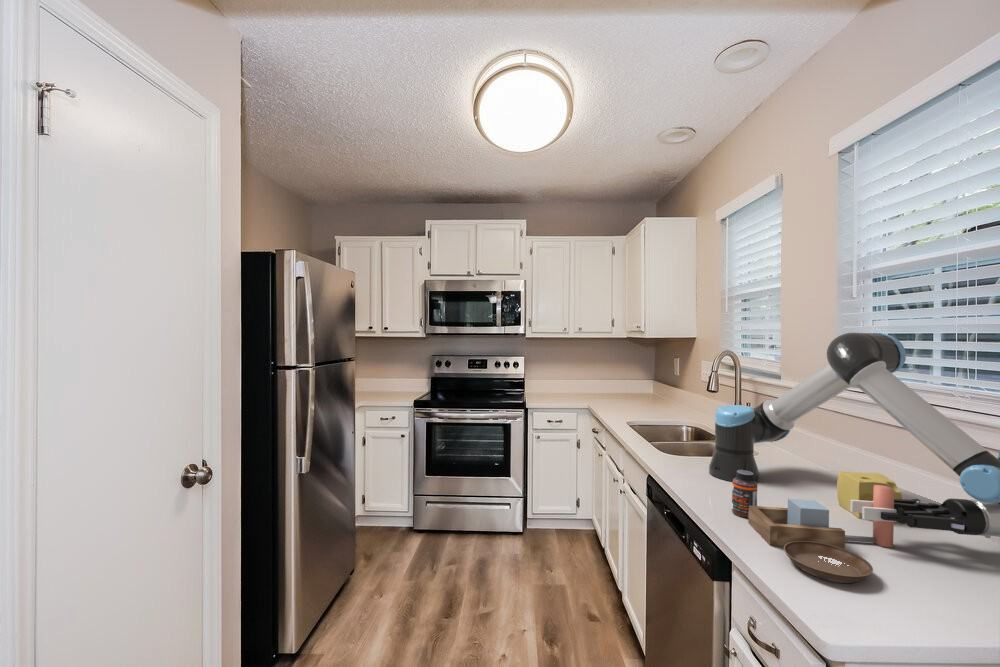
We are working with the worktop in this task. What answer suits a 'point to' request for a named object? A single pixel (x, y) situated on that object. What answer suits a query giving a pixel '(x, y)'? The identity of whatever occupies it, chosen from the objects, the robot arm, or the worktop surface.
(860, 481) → the cheese
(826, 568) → the saucer
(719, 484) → the worktop surface
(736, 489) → the supplement bottle
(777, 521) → the wooden u-shaped frame
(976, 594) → the worktop surface
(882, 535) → the block
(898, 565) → the worktop surface
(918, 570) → the worktop surface
